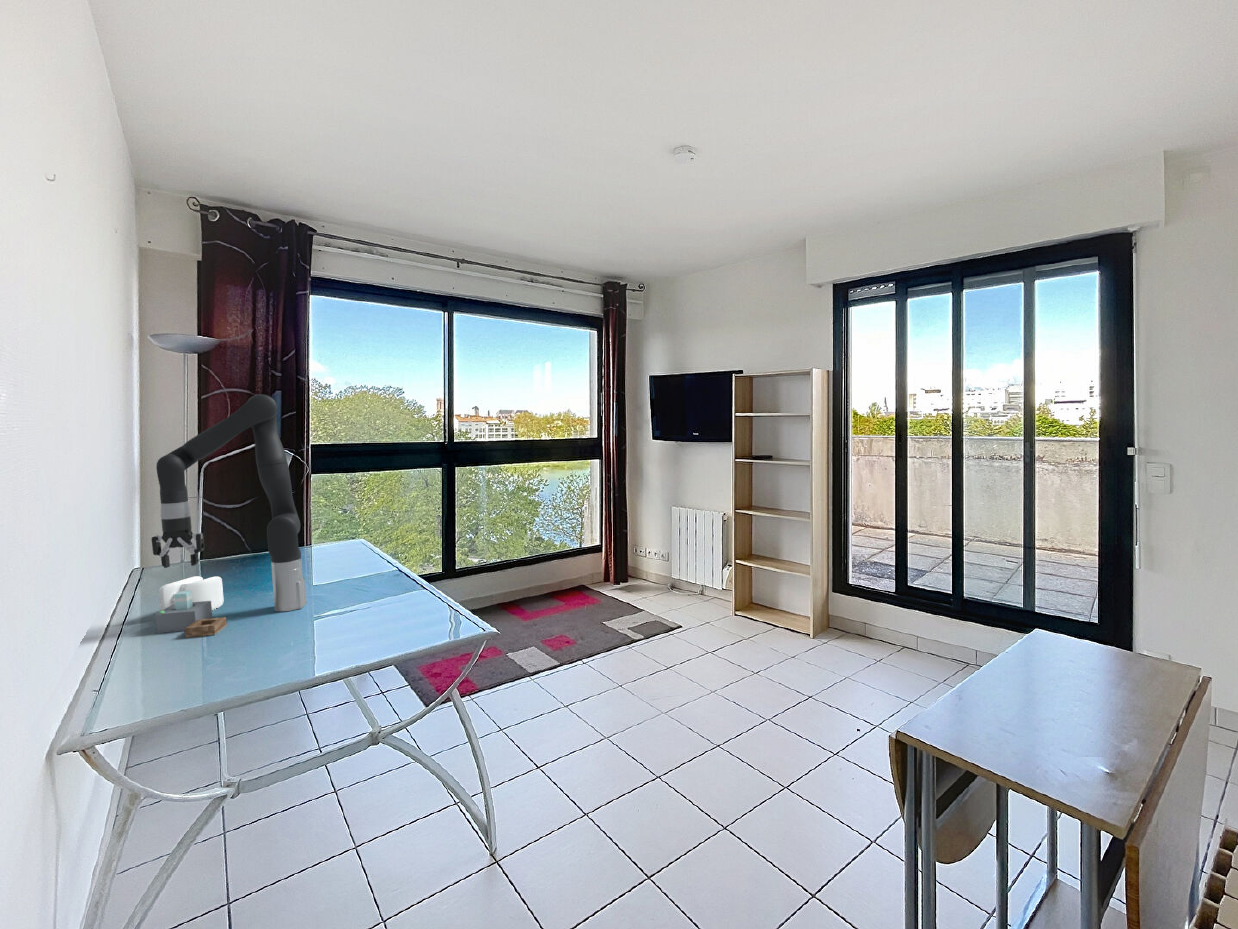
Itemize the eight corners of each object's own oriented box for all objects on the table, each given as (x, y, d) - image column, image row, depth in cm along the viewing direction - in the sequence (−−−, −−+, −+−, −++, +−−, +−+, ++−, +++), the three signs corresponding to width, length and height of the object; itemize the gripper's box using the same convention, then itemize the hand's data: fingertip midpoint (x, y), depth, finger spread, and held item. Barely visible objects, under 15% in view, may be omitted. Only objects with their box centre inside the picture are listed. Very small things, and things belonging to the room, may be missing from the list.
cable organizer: (185, 621, 193) (182, 587, 192) (160, 619, 196) (156, 586, 195) (224, 606, 208) (222, 575, 207) (200, 605, 210) (198, 574, 209)
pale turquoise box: (194, 620, 191) (191, 590, 190) (189, 623, 187) (186, 593, 187) (181, 621, 190) (179, 591, 189) (176, 624, 187) (173, 594, 186)
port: (212, 618, 195) (210, 599, 195) (196, 629, 185) (194, 609, 184) (175, 621, 193) (173, 602, 193) (156, 633, 182) (155, 613, 182)
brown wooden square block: (226, 626, 187) (225, 617, 187) (215, 635, 179) (214, 625, 179) (198, 628, 185) (198, 619, 185) (185, 637, 177) (185, 628, 177)
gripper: (206, 512, 191) (210, 561, 192) (157, 515, 188) (161, 565, 189) (195, 516, 184) (199, 567, 185) (143, 519, 181) (148, 571, 182)
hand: (180, 566), depth 187 cm, fingers open, 7 cm apart
